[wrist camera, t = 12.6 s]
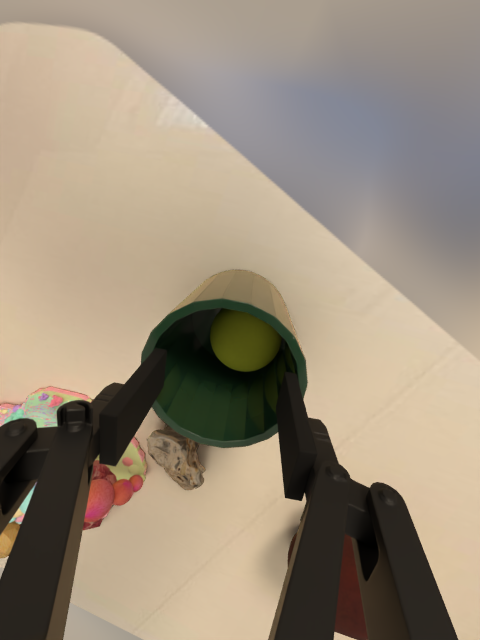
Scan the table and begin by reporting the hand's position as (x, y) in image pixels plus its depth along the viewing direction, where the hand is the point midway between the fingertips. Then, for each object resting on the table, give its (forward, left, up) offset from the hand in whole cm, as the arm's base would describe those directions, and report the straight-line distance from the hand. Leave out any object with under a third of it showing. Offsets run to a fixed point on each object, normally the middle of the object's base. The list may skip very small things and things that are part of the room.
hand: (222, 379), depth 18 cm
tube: (0, 0, -13) cm, 13 cm away
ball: (0, +1, -9) cm, 9 cm away
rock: (+18, -4, -13) cm, 23 cm away
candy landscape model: (+25, -22, -13) cm, 36 cm away
